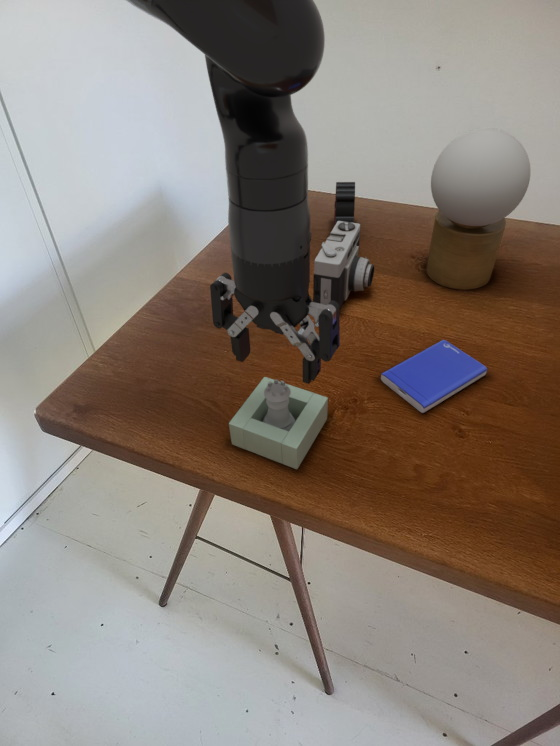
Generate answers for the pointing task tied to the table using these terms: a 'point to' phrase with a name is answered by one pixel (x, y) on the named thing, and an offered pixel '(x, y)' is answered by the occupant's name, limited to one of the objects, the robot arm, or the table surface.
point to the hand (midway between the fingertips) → (275, 367)
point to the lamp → (474, 204)
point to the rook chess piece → (278, 405)
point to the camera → (340, 266)
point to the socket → (276, 441)
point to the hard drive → (433, 375)
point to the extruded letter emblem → (344, 202)
